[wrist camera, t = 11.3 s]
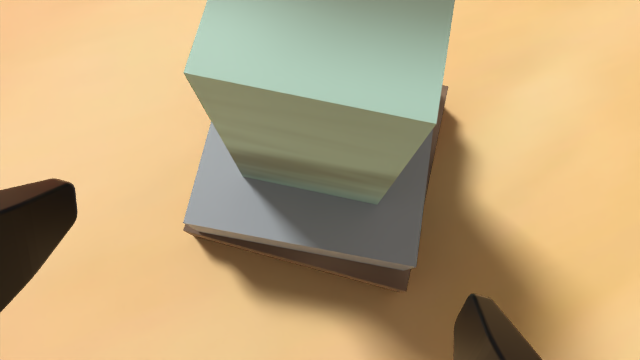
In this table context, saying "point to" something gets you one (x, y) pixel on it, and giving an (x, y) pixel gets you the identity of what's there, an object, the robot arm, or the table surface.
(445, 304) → the table surface
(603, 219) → the table surface
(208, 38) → the sage green block
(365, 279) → the walnut base slab
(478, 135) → the table surface
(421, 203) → the slate grey top slab
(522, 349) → the robot arm
